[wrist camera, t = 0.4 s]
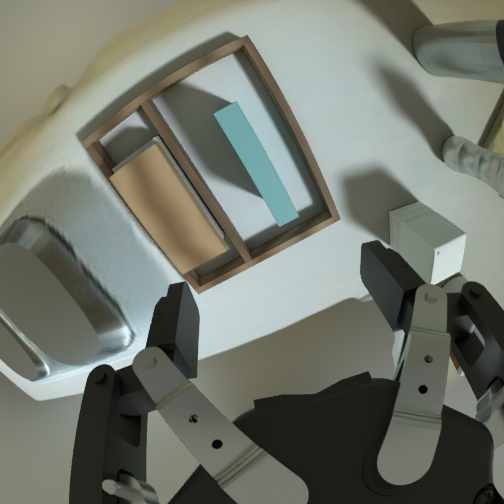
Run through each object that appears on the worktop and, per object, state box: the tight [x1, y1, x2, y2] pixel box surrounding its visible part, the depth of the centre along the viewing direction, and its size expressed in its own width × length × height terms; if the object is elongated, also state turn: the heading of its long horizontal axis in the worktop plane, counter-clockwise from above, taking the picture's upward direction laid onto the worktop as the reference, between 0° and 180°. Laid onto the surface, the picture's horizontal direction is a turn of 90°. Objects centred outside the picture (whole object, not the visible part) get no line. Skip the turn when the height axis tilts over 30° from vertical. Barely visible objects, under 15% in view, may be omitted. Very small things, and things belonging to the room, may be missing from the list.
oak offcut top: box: [109, 142, 227, 274], centre depth 32 cm, size 7×16×2 cm, turn 28°
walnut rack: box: [83, 35, 340, 294], centre depth 34 cm, size 24×28×2 cm
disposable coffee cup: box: [450, 349, 465, 376], centre depth 65 cm, size 10×10×12 cm
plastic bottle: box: [442, 136, 504, 197], centre depth 27 cm, size 6×7×20 cm
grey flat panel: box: [112, 135, 224, 239], centre depth 34 cm, size 7×16×2 cm, turn 28°
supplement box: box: [389, 201, 466, 285], centre depth 37 cm, size 7×7×13 cm
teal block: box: [214, 101, 299, 227], centre depth 30 cm, size 2×14×9 cm, turn 29°
